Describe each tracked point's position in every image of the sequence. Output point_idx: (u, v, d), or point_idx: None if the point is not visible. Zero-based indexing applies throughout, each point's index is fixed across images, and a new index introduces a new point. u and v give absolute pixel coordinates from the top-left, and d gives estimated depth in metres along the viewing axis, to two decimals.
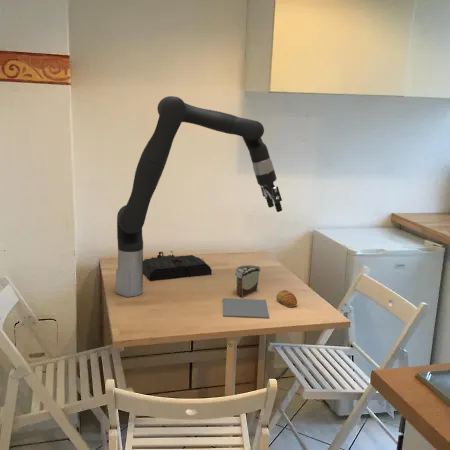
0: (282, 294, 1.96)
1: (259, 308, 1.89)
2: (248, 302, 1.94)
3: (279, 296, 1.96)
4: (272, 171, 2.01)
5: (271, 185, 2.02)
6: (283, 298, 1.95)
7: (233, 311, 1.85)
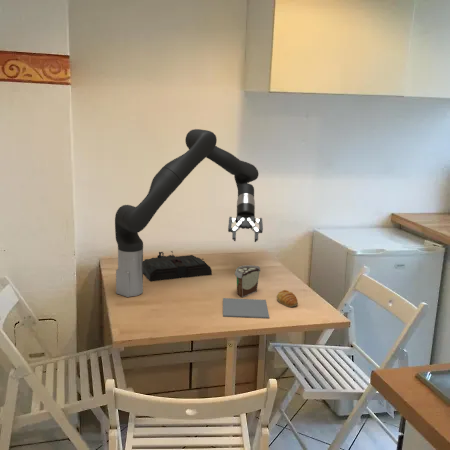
0: (282, 294, 1.96)
1: (259, 308, 1.89)
2: (248, 302, 1.94)
3: (279, 296, 1.96)
4: None
5: (254, 218, 2.19)
6: (283, 298, 1.95)
7: (233, 311, 1.85)
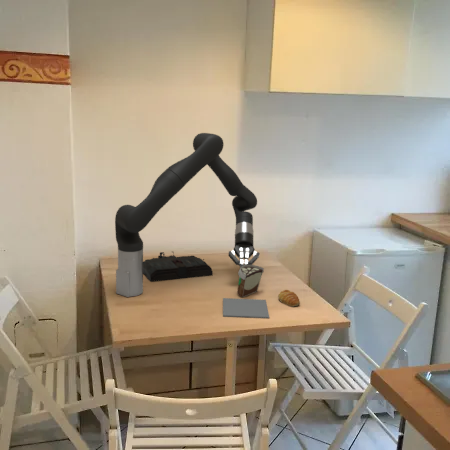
0: (284, 294, 1.97)
1: (259, 308, 1.89)
2: (248, 302, 1.94)
3: (281, 296, 1.97)
4: None
5: None
6: (285, 297, 1.95)
7: (233, 311, 1.85)
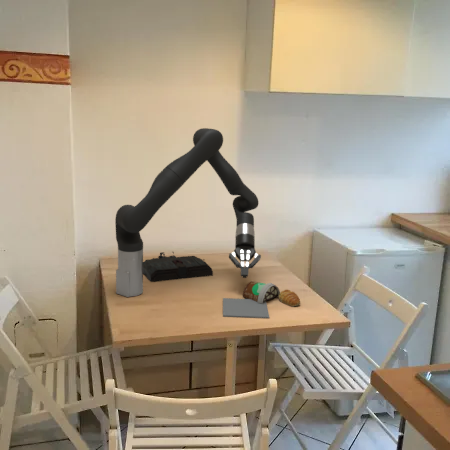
0: (285, 294, 1.97)
1: (259, 308, 1.89)
2: (248, 302, 1.94)
3: (281, 296, 1.97)
4: None
5: (254, 249, 2.06)
6: (286, 297, 1.95)
7: (233, 311, 1.85)
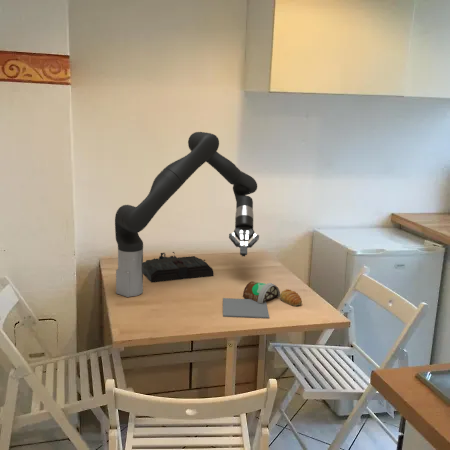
0: (286, 293, 1.97)
1: (259, 308, 1.89)
2: (248, 302, 1.94)
3: (283, 296, 1.97)
4: None
5: None
6: (288, 297, 1.96)
7: (233, 311, 1.85)
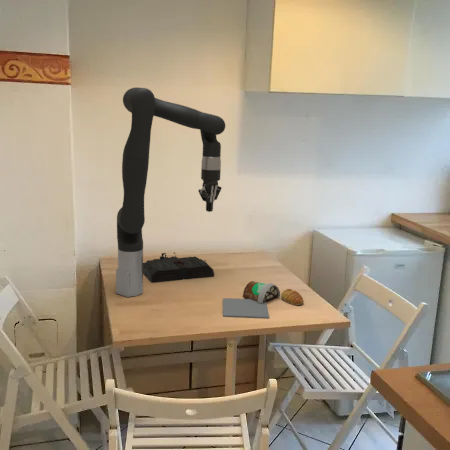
0: (288, 293, 1.98)
1: (259, 308, 1.89)
2: (248, 302, 1.94)
3: (284, 295, 1.98)
4: None
5: None
6: (289, 296, 1.96)
7: (233, 311, 1.85)
